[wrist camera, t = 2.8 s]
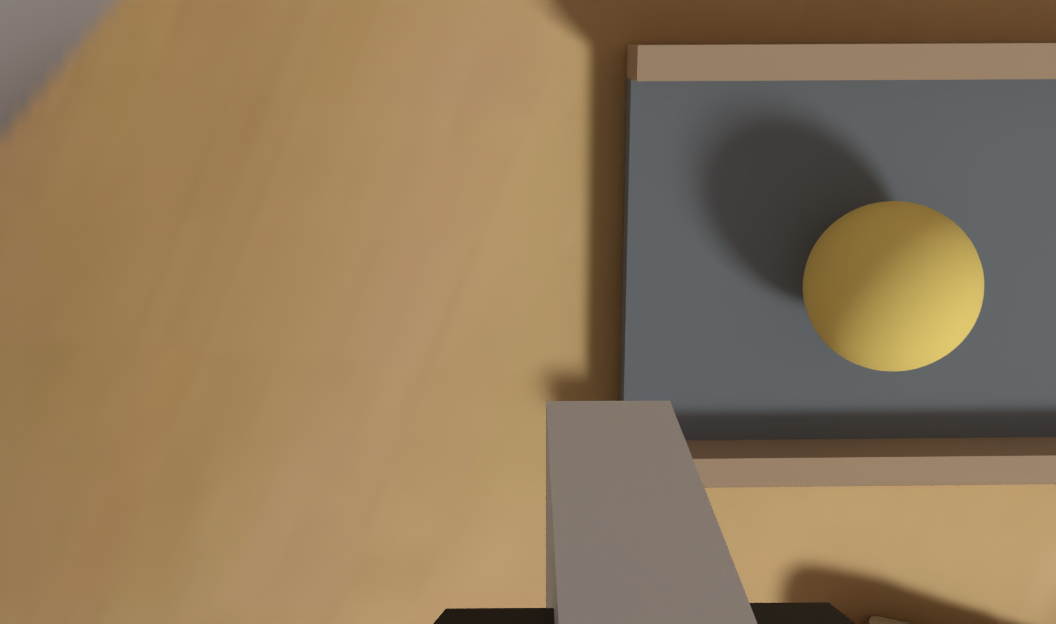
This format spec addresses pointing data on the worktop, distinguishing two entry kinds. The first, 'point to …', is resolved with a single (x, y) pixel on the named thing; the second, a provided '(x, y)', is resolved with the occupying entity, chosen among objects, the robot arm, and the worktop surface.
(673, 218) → the lane
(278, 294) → the worktop surface
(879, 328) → the ball
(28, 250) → the worktop surface
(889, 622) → the stone
